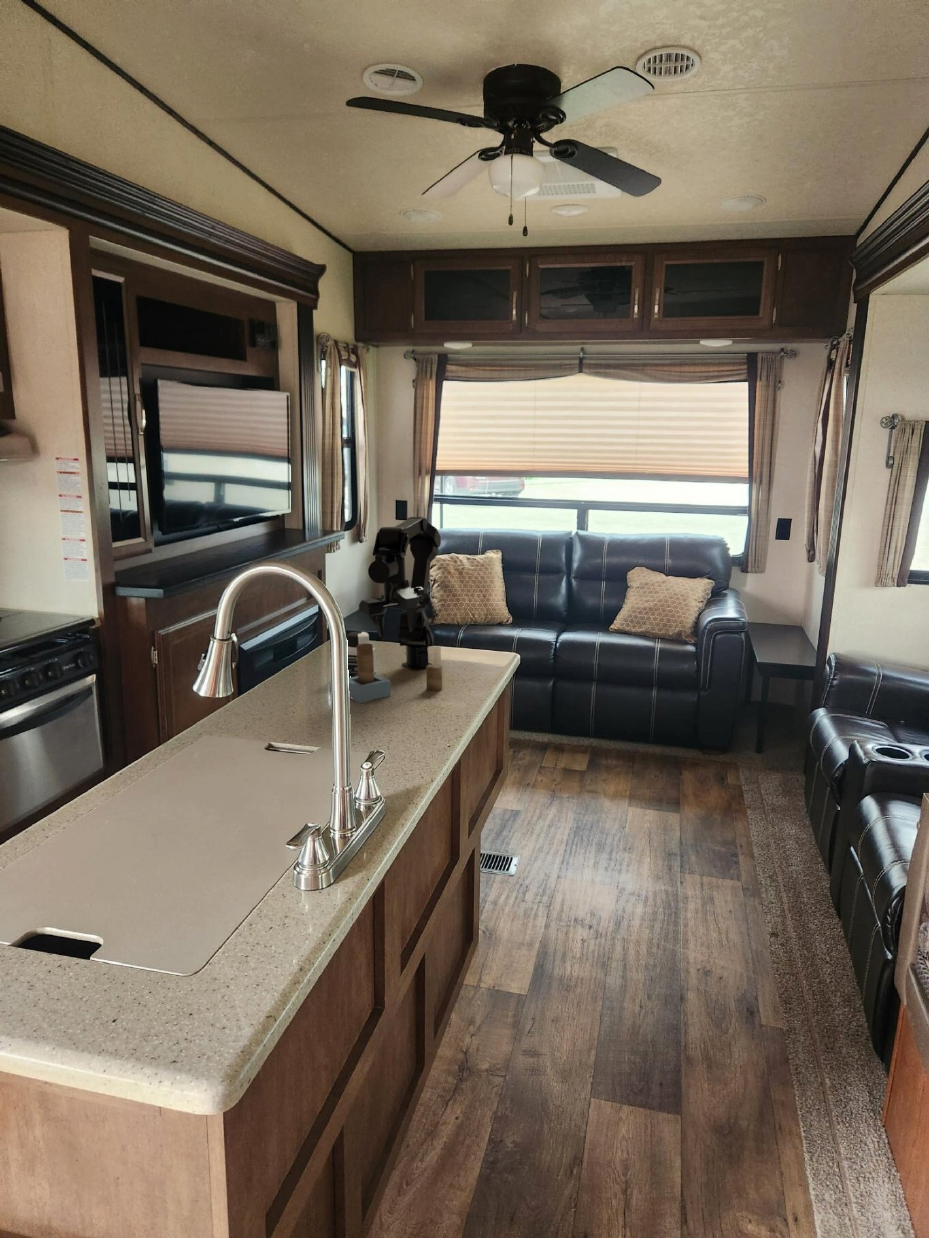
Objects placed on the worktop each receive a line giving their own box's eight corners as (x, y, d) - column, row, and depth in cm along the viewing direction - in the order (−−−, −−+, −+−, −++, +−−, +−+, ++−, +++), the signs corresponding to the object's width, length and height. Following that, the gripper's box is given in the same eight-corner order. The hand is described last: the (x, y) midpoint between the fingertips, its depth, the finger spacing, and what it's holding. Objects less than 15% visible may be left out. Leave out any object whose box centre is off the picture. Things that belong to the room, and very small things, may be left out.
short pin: (423, 688, 215) (422, 666, 213) (436, 685, 217) (435, 663, 216) (432, 692, 212) (431, 669, 210) (445, 689, 214) (444, 666, 213)
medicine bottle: (342, 678, 225) (339, 635, 222) (352, 670, 232) (350, 629, 229) (366, 680, 223) (364, 636, 220) (376, 672, 230) (374, 630, 227)
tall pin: (356, 694, 211) (353, 645, 208) (369, 691, 213) (367, 642, 210) (364, 698, 208) (361, 648, 205) (377, 695, 210) (375, 645, 207)
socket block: (343, 694, 212) (342, 679, 211) (373, 687, 217) (372, 672, 216) (360, 703, 205) (359, 687, 204) (390, 695, 210) (390, 680, 209)
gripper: (379, 585, 202) (382, 647, 206) (441, 575, 213) (443, 634, 217) (356, 579, 211) (359, 638, 215) (417, 570, 222) (419, 626, 226)
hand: (396, 634), depth 218 cm, fingers open, 9 cm apart
